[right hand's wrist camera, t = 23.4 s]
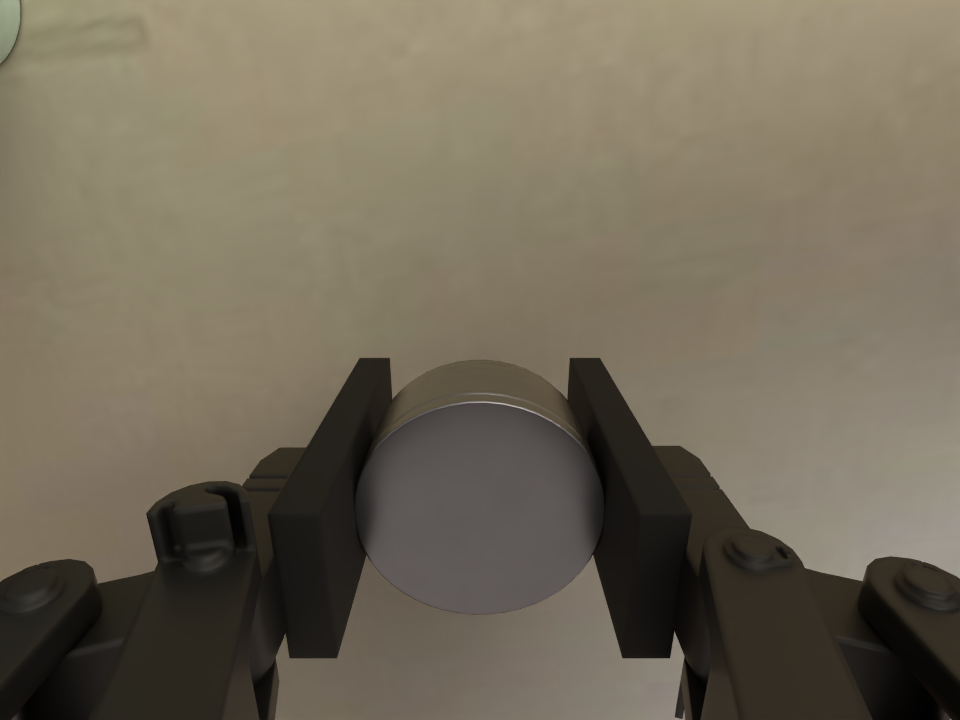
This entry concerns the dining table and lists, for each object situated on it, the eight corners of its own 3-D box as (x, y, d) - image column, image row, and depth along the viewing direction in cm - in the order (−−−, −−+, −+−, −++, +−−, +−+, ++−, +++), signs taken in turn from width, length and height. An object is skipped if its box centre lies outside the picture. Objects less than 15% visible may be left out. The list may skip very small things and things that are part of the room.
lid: (466, 313, 11) (462, 347, 9) (630, 446, 12) (659, 504, 10) (332, 468, 12) (303, 529, 10) (490, 577, 13) (492, 651, 11)
